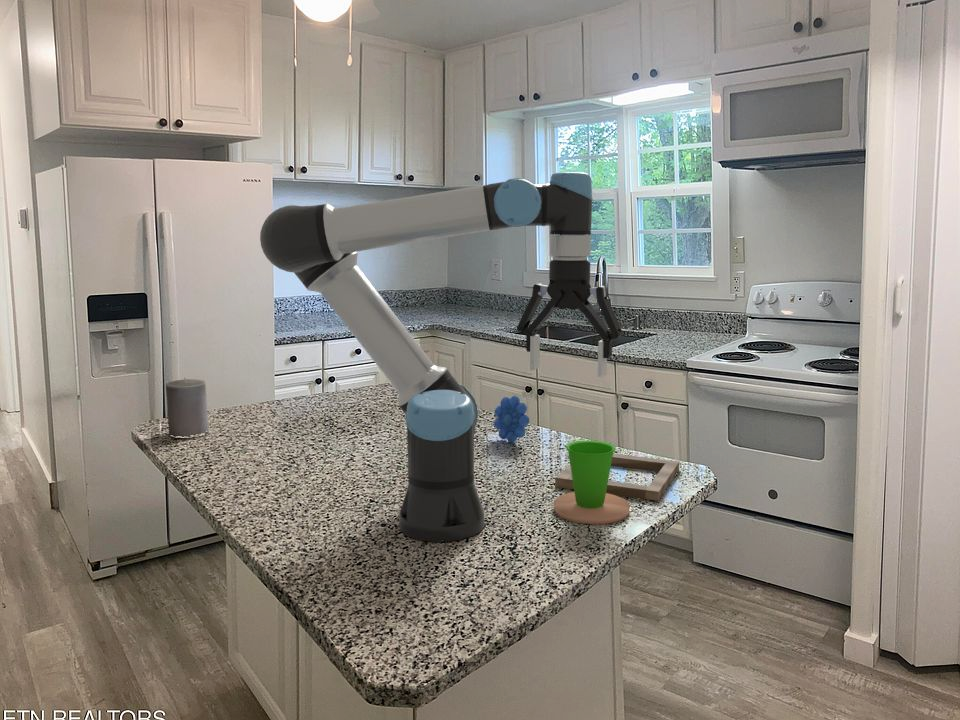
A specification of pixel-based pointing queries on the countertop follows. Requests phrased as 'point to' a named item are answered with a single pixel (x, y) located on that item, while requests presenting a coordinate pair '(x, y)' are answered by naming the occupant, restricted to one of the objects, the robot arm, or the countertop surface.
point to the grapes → (511, 419)
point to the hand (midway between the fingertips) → (567, 372)
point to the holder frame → (626, 489)
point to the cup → (590, 471)
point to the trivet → (591, 510)
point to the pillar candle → (187, 407)
